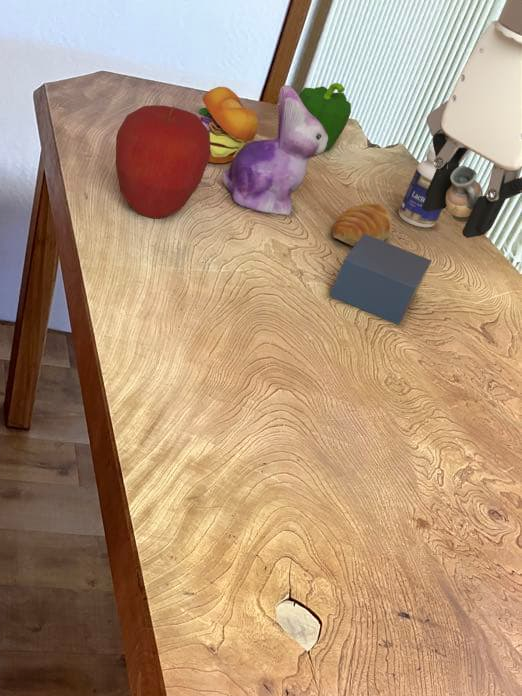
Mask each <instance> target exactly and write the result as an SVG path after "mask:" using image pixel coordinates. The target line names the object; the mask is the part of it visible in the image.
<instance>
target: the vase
mask: <svg viewBox="0 0 522 696" xmlns="http://www.w3.org/2000/svg"><path fill="white" fill-rule="evenodd" d="M447 169H448V168H447ZM439 171H440V170H439ZM477 175H478V174H477V172H476V171H475V170H474V169H473V168H471V167H468V166H466V165H459V167H458V168H456V169H455V170H454V171H453V172H452V174H451V177H450V179H451V182H452V185H451V186H450V188H449V189H448V191H447V193H446V205H447V207H446V208H445V210H446V212H447V216H448V217H450V218H451V219H452V220H453V221H454V222H455V223H456V224H459V225H461V226H462V227H463V226H464V227H465V225H466V223H467V221H468V218H469V216H470V214H471V212H472V210H473V208H474V206H475V204H476V202H477V200H478V198H479V197H481V196H484V192H483V188H482V186H481V184H480V183H479V182H478V181H477V180H476V179H477ZM488 234H489V231H487V232H486V233H485V235H486V236H487V235H488Z"/></svg>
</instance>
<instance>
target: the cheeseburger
mask: <svg viewBox="0 0 522 696" xmlns="http://www.w3.org/2000/svg"><path fill="white" fill-rule="evenodd" d="M202 101H203V104H204V106H205V107H201V108H200V109H198V111H197V110H196V111H192V112H191V113H193V114H195V115H197V116H198V118H199V119H200V120H201V121H202V123H203V124H204V125H205V127H206V128H207V130H208V131H209V132H210V150H211V151H210V158H209V161H208V163H212V164H225V163H231V162H232V161H233V159H234V157H235V156H236V154H237V153H238V152H239V150H240V149H241V148H242V147H244V146H245V145H247V144H248V142H252V141H254V139H255V137H256V135H257V133H258V129H259V120H258V116H257V112H255V111H254V110H253V109H251V108H247V107H245V106H244V105H243V103H242V101H241V100H240V98H239V96H238V95H237V93H235V92H234V91H233V90H232V89H230V88H229V87H226V86H217V87H214V88H211V89H209V91H207V92H206V93H205V94H204V95H203V96H202Z"/></svg>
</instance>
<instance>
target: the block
mask: <svg viewBox="0 0 522 696" xmlns="http://www.w3.org/2000/svg"><path fill="white" fill-rule="evenodd" d="M432 262H433V261H432V259H429V258H426V257H424V256H422V255H420V254H417V253H414V252H412V251H409V250H407V249H404V248H401V247H399V246H397V245H394V244H391V243H389V242H387V241H385V240H384V241H382V240H379V239H377V238H374V237H372V236H369V235H367V234H363V236H362V237H361V238H360V240H359V241H358V242H357V243H356V245H355V246H352V248H351V250H350V251H349V252H348V253H347V255H346V256H345V258H343V261H342V264H341V266H340V269H339V271H338V274H337V276H336V279H335V281H334V284H333V286H332V288H331V291H330V293H329V297H330V298H333V299H336V300H338V301H341V302H343V303H346V304H348V305H350V306H352V307H355V308H357V309H360V310H362V311H365V312H367V313H369V314H371V315H374V316H376V317H378V318H381V319H383V320H386V321H389V322H391V323H393V324H396V325H400V323H401V322H402V320H403V318H404V316H405V315H406V313H407V312H408V309H409V308H410V306H411V305H412V303H413V301H414V299H415V298H416V295H417V294H418V291H419V289H420V287H421V285H422V283H423V281H424V279H425V276H426V274H427V273H428V270H429V268H430V266H431V264H432Z"/></svg>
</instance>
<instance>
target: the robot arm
mask: <svg viewBox="0 0 522 696" xmlns="http://www.w3.org/2000/svg"><path fill="white" fill-rule="evenodd" d="M426 123H427V127H428V129H429V132H430V136H432V145H433V147H434V151H435V156H436V158H435V159H434V167H435V168H436V171H435V174H434V176H433V178H432V181H431V183H430V185H429V188H428V190H427V192H426V199H425V201H424V203H423V205H422V209H423V210H424V211H426V212H428V211H434V210H440V209H442V210H444V209H445V210H446V208H447V205H446V193H447V191H448V189H449V188H450V186H451V185H452V182H451V179H450V177H451V174H452V172H453V171H454V170H455V169H456V168H458V167H459V166H461V163H463V161H464V160H465V158H466V157H467V156H468V154H469V153H470V151H471V152H472V153H474V154H476V155H478V156H479V157H481V158H483V159H484V160H486V161H488V162H490V163H491V164H493V166H492V169H491V173H490V177H489V182H488V185H487V190H486V194H485V195H483V196H481V197H479V198H478V200H477V202H476V204H475V206H474V208H473V210H472V212H471V214H470V216H469V218H468V221H467V223H466V225H465V226H464V227H463V229H462V231H461V233H462V236H463V237H464V238H466V239H470V238H475V237H479V236H484V235H486V232H487V231H488V232H489V231H490V230H491V229H492V228H493V226H494V224H495V221H496V220H497V218H498V215H499V214H500V212H501V210H502V208H503V205H504V203H505V201H506V200H508V199H512V198H513V197H515V196H518V195H520V194H522V177H520V175H521V171H522V0H505V3H504V4H503V8H502V10H501V11H500V13H499V16H498V19H497V20H493V21H491V22H490V23H489V24H488V26H487V27H486V29H485V31H484V32H483V34H482V35H481V37H480V38H479V40H478V42H477V43H476V45H475V46H474V48H473V50H472V52H471V53H470V55H469V57H468V59H467V61H466V62H465V64H464V66H463V68H462V70H461V72H460V74H459V76H458V78H457V80H456V81H455V84H454V86H453V88H452V91H451V93H450V95H449V97H448V100H446V101H444V103H442V104H440V105H439V106H438V107H437V108H436V109H433V110H432V111H431V112H430V113H428V114H427V116H426ZM447 168H448V169H447ZM439 170H440V171H439Z"/></svg>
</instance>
